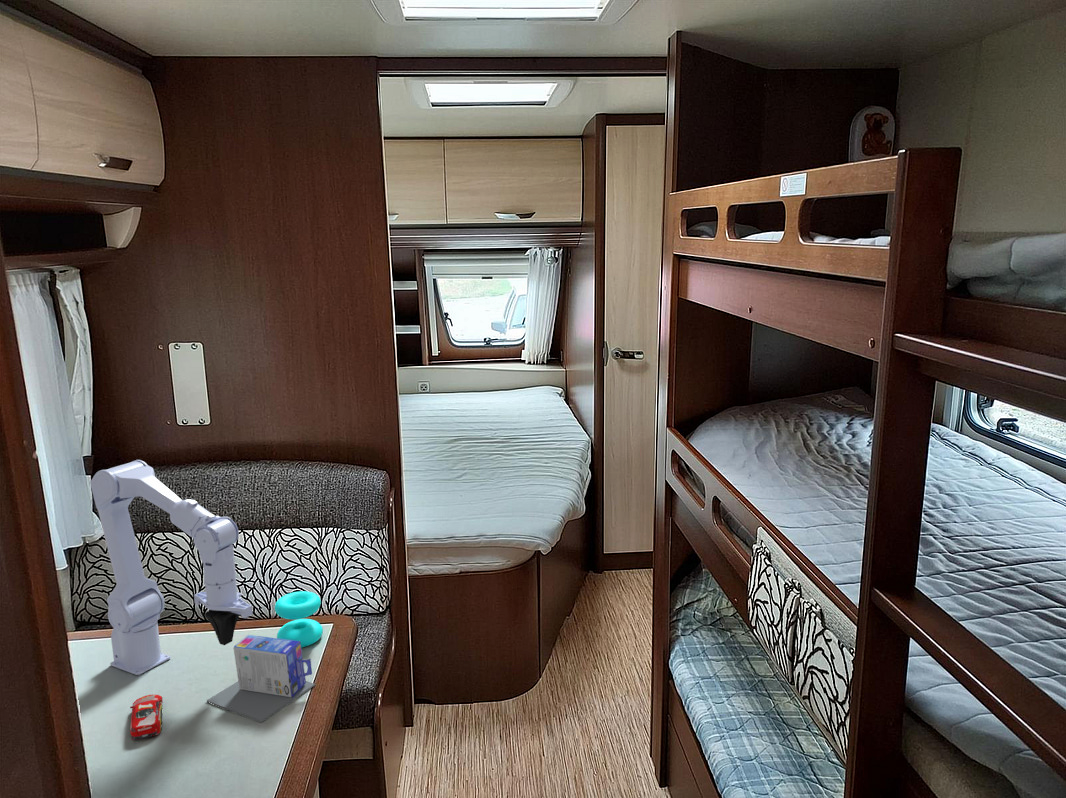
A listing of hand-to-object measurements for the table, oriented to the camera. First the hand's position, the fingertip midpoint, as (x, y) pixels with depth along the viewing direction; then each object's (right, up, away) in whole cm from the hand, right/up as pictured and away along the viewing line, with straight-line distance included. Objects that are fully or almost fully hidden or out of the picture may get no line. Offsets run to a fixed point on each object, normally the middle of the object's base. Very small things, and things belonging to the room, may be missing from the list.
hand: (226, 642), depth 152 cm
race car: (-10, -12, -11) cm, 19 cm away
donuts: (+9, -6, +19) cm, 22 cm away
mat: (+8, -9, -3) cm, 13 cm away
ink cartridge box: (+4, -4, 0) cm, 5 cm away
